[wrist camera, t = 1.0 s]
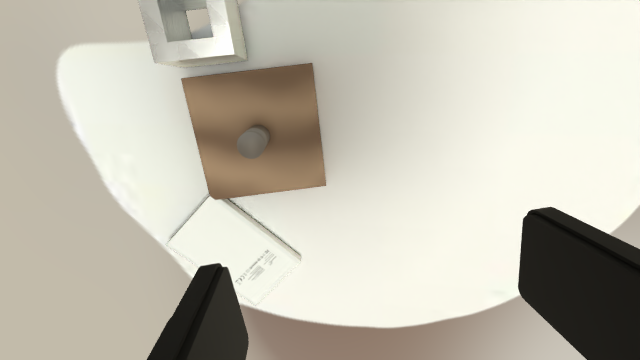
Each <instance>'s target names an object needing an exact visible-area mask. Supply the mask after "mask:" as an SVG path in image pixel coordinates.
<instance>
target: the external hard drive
mask: <svg viewBox="0 0 640 360" xmlns="http://www.w3.org/2000/svg"><path fill="white" fill-rule="evenodd" d="M166 246H167V247H169V248H170V249H172V250H173V251H175V252H176V253H178V254H179V255H181V256H182V257H184V258H185V259H186V260H188V261H189V262H191V263H192V264H194V265H195V266H197V267H198V268H199V267H200V266H203V265H209V264H215V263H220V264H221V265H222V267H228V269H229V272H230V275H231V279H232V282H233V286H234V289H235V292H236V293H237V294H238V295H240V296H241V297H243V298H244V299H246V300H247V301H248V302H250V303H251V304H253V305H254V306H256V305H258V304H259V303H260V302H261V301H262V300H263V299H264V298H265V297H266V296H267V295H268V294H269V293H270V292H271V291H272V290H273V289H274V288H275V287H276V286H277V285H278V284H279V283H280V282H281V281H282V280H283V279H284V278H285V277H287V276H288V275H289V274H290V273H291V272H292V271H293V270H294V269H295V268H296V267H297V266H298V265H299V264H300V262H301V256H300V255H299V254H297V253H296V252H295V251H294V250H292V249H291V248H290V247H289V246H287V245H286V244H285V243H283V242H282V241H281V240H280V239H278V238H277V237H276V236H274V235H273V234H272V233H271V232H269V231H268V230H267V229H265V228H264V227H263V226H262V225H260V224H259V223H258V222H256V221H255V220H254V219H252V218H251V217H250V216H249V215H247V214H246V213H245V212H243V211H242V210H241V209H240V208H238V207H237V206H236V205H234V204H233V203H232V202H231V201H229V200H228V199H219V200H215V199H213V198H212V197H211V196H209V197H208V198H207V199H206V200H205V201H204V202H203V204H202V205H201V206H200V207H199V208H198V209H197V210H196V211H195V213H194V214H193V215H192V216H191V217H190V218H189V219H188V220H187V221H186V223H185V224H184V225H183V226H182V227H181V228H180V229H179V230H178V232H177V233H176V234H175V235H174V236H173V237H172V238H171V239H170V240H169V242H168V243H167V244H166Z"/></svg>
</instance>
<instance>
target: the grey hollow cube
mask: <svg viewBox="0 0 640 360" xmlns="http://www.w3.org/2000/svg"><path fill="white" fill-rule="evenodd" d="M138 3H139V6H140V10H141V14H142V18H143V21H144V25H145V29H146V33H147V36H148V40H149V44H150V47H151V51H152V55H153V59H154V62H155V63H157V64H163V65H169V66H176V67H182V68H188V67H196V66H205V65H213V64H222V63H230V62H239V61H247V60H248V59H247V54H246V48H245V42H244V37H243V31H242V26H241V20H240V14H239V9H238V3H237V0H138ZM204 8H207V9H208V13H209V18H210V23H211V28H212V33H213V37H210V38H201V39H193V40H192V37H191V32H190V28H189V24H188V20H187V15H186V10H196V9H204Z"/></svg>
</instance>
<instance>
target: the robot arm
mask: <svg viewBox="0 0 640 360" xmlns="http://www.w3.org/2000/svg"><path fill="white" fill-rule="evenodd" d="M518 289H519V292H520V295H521V296H522V298H523V299H524V300H525V301H526V302H527V303H528V304H530V306H531V307H532V308H534V309H535V310H536V311H537V312H538V313H539V314H540V315H541V316H542V317H543V318H544V319H545V320H546V321H547V322H548V323H549V324H550V325H551V326H552V327H553V328H554V329H555V330H556V331H557V332H559V333H560V334H561V335H562V336H563V337H564V338H565V339H566V340H567V341H568V342H569V343H570V344H571V345H572V346H573V347H574V348H575V349H576V350H577V351H578V352H579V353H581V354H582V355H583V356H584V357H585V358H586V359H587V360H640V249H638V248H636V247H634V246H632V245H630V244H628V243H626V242H623V241H621V240H619V239H617V238H615V237H613V236H611V235H609V234H607V233H605V232H603V231H601V230H599V229H597V228H595V227H593V226H590V225H588V224H586V223H584V222H582V221H580V220H578V219H576V218H574V217H572V216H570V215H568V214H566V213H564V212H562V211H560V210H557V209H555V208H553V207H547V208H541V209H535V210H531V211H529V212H528V214H527V216H525V217H524V219H523V227H522V241H521V254H520V268H519V282H518ZM247 350H248V333H247V330H246V326H245V323H244V320H243V316H242V313H241V309H240V306H239V303H238V299H237V296H236V292H235V289H234V286H233V282H232V279H231V275H230V272H229V269H228V267H222V265H221V264H220V263H215V264H209V265H203V266H200V267H199V269H198V270H197V272H196V274H195V276H194V278H193V279H192V281H191V283H190V285H189V287H188V288H187V291H186V292H185V294H184V296H183V298H182V299H181V301H180V303H179V305H178V307H177V308H176V310H175V312H174V314H173V316H172V317H171V318H170V320H169V321H168V322H167V324H166V326H165V328H164V330H163V331H162V333H161V335H160V337H159V339H158V340H157V342H156V344H155V346H154V347H153V349H152V351H151V353H150V355H149V356H148V358H147V360H245V359H246V355H247Z"/></svg>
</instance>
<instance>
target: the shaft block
mask: <svg viewBox="0 0 640 360" xmlns="http://www.w3.org/2000/svg"><path fill="white" fill-rule="evenodd" d="M181 80H182V85H183V89H184V93H185V97H186V101H187V105H188V109H189V113H190V117H191V121H192V125H193V129H194V133H195V137H196V141H197V145H198V149H199V154H200V158H201V162H202V166H203V170H204V174H205V178H206V182H207V186H208V190H209V194H210V196H211V197H212V198H213V199H215V200H219V199H227V198H235V197H242V196H250V195H258V194H265V193H273V192H281V191H289V190H296V189H304V188H312V187H319V186H326V180H325V171H324V163H323V154H322V145H321V136H320V128H319V119H318V110H317V101H316V93H315V84H314V75H313V66H312V63H309V64H300V65H292V66H283V67H275V68H266V69H258V70H250V71H241V72H233V73H224V74H216V75H207V76H199V77H190V78H182V79H181Z"/></svg>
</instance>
